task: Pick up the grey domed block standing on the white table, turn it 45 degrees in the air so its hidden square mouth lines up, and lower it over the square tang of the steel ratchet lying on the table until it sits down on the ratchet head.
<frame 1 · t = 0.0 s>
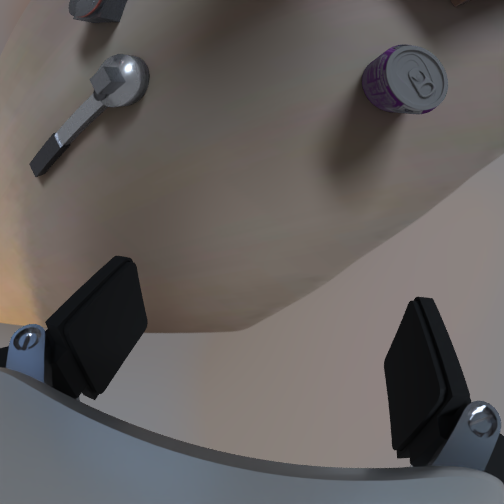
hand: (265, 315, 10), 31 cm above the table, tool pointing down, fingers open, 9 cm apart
beverage can: (387, 85, 30), on the table
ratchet: (126, 80, 36), on the table
grey domed block: (111, 6, 30), on the table
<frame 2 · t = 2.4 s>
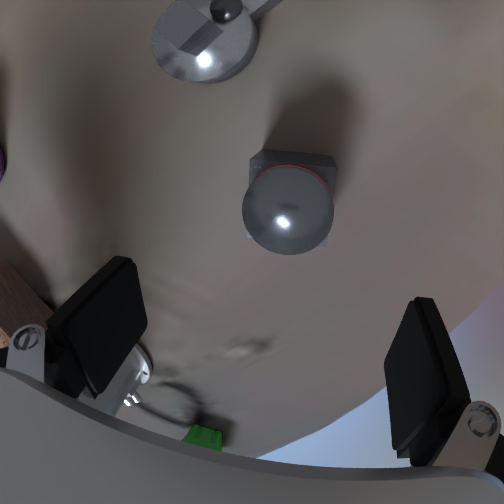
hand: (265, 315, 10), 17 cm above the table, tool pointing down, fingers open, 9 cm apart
tissue box cover: (26, 319, 46), on the table
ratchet: (211, 40, 20), on the table
grey domed block: (294, 186, 25), on the table
fruit basket: (204, 435, 49), on the table
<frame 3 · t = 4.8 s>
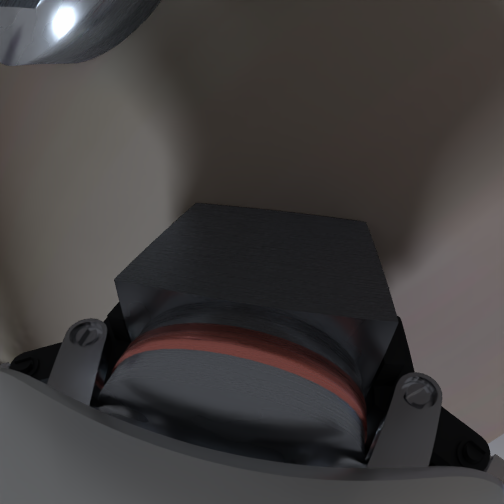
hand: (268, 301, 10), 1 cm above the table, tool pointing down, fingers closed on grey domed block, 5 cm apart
grey domed block: (273, 284, 11), on the table, touching gripper
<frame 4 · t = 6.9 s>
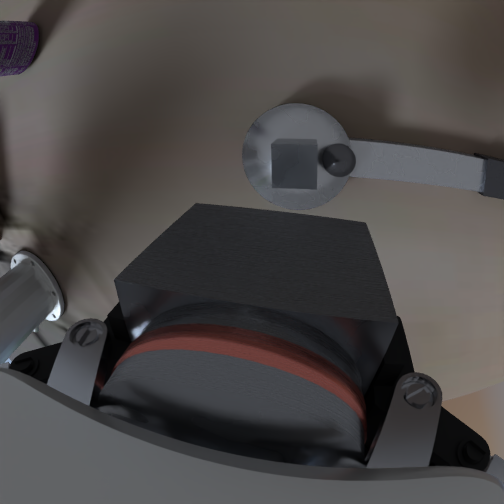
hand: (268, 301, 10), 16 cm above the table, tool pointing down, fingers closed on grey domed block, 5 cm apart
beverage can: (27, 47, 21), on the table
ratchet: (298, 151, 23), on the table
grey domed block: (273, 284, 11), point 15 cm above the table, touching gripper
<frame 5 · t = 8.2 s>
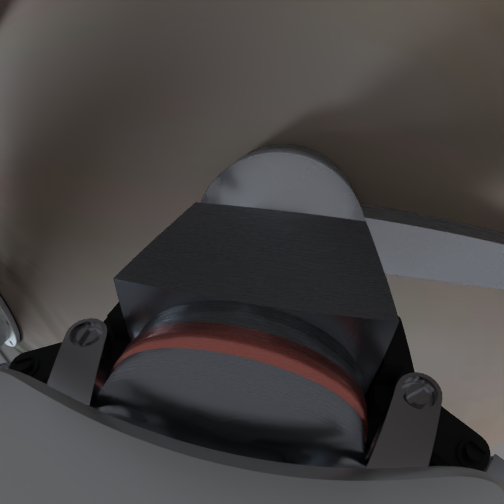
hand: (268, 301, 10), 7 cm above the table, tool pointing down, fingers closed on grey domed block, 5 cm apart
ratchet: (285, 217, 16), on the table
grey domed block: (273, 284, 11), point 6 cm above the table, touching gripper
when the fingers open (5 cm above the table, at t = 9.0 s): grey domed block stays where it is, resting on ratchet.
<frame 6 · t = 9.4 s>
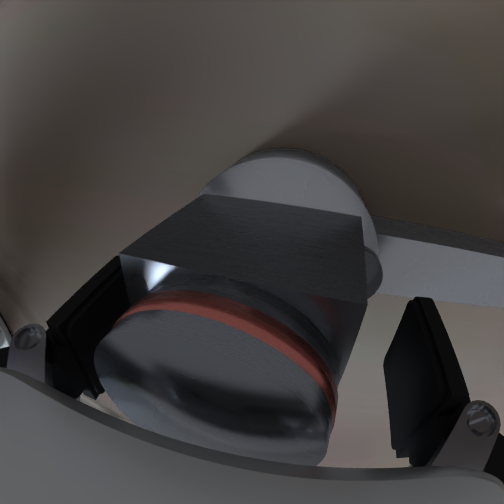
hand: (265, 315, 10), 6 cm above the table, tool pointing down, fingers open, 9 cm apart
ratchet: (285, 230, 14), on the table, touching grey domed block
grey domed block: (273, 273, 12), point 3 cm above the table, tilted 6°, touching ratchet
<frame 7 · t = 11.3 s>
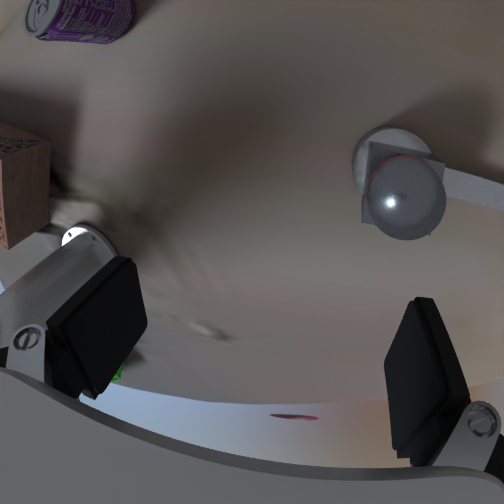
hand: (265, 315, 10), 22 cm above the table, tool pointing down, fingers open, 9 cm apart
tissue box cover: (12, 162, 38), on the table
beverage can: (115, 19, 24), on the table
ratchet: (390, 165, 26), on the table, touching grey domed block
grey domed block: (396, 177, 24), point 3 cm above the table, tilted 6°, touching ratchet
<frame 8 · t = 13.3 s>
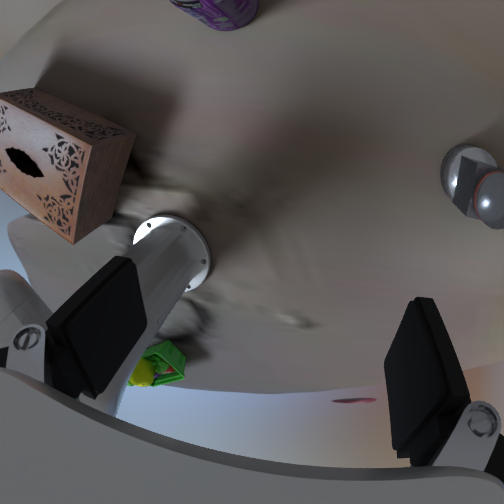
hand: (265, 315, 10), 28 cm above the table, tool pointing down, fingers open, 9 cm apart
tissue box cover: (68, 146, 40), on the table
beverage can: (230, 8, 27), on the table
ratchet: (465, 174, 30), on the table, touching grey domed block
grey domed block: (476, 184, 27), point 3 cm above the table, tilted 6°, touching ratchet
fruit basket: (162, 351, 56), on the table
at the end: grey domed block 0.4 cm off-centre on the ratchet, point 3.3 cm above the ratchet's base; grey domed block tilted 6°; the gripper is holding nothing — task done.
